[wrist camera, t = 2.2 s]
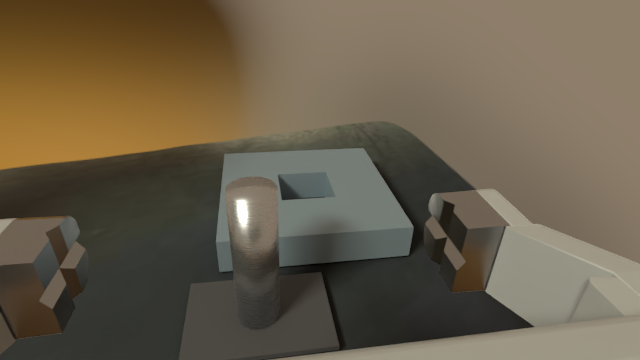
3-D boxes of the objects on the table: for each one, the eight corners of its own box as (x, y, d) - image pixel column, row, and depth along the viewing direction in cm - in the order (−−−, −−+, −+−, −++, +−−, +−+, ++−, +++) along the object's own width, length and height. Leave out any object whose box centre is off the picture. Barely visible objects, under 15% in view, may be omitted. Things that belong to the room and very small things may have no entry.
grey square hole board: (219, 272, 32) (216, 242, 30) (226, 177, 46) (224, 153, 44) (408, 255, 34) (413, 227, 33) (361, 170, 48) (363, 148, 47)
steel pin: (237, 332, 26) (223, 204, 21) (237, 298, 29) (225, 177, 24) (282, 326, 27) (279, 200, 22) (279, 294, 29) (275, 175, 24)
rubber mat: (178, 369, 24) (177, 365, 24) (191, 287, 30) (190, 283, 30) (339, 349, 26) (339, 345, 25) (320, 275, 32) (321, 271, 32)
